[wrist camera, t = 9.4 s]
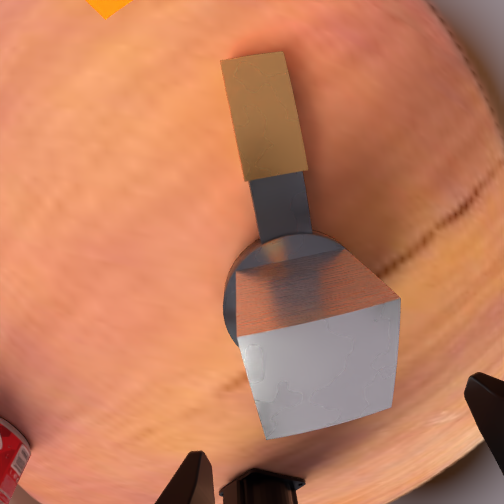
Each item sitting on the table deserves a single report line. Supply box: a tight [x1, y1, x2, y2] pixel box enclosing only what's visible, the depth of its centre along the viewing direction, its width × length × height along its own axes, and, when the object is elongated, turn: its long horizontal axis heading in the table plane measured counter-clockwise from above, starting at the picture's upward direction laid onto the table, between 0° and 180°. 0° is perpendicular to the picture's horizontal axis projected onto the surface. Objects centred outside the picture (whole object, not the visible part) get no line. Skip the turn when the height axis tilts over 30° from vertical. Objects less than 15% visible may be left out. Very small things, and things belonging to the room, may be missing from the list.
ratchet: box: [220, 51, 348, 348], centre depth 14 cm, size 17×8×4 cm, turn 11°
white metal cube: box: [236, 248, 401, 440], centre depth 13 cm, size 6×6×6 cm
